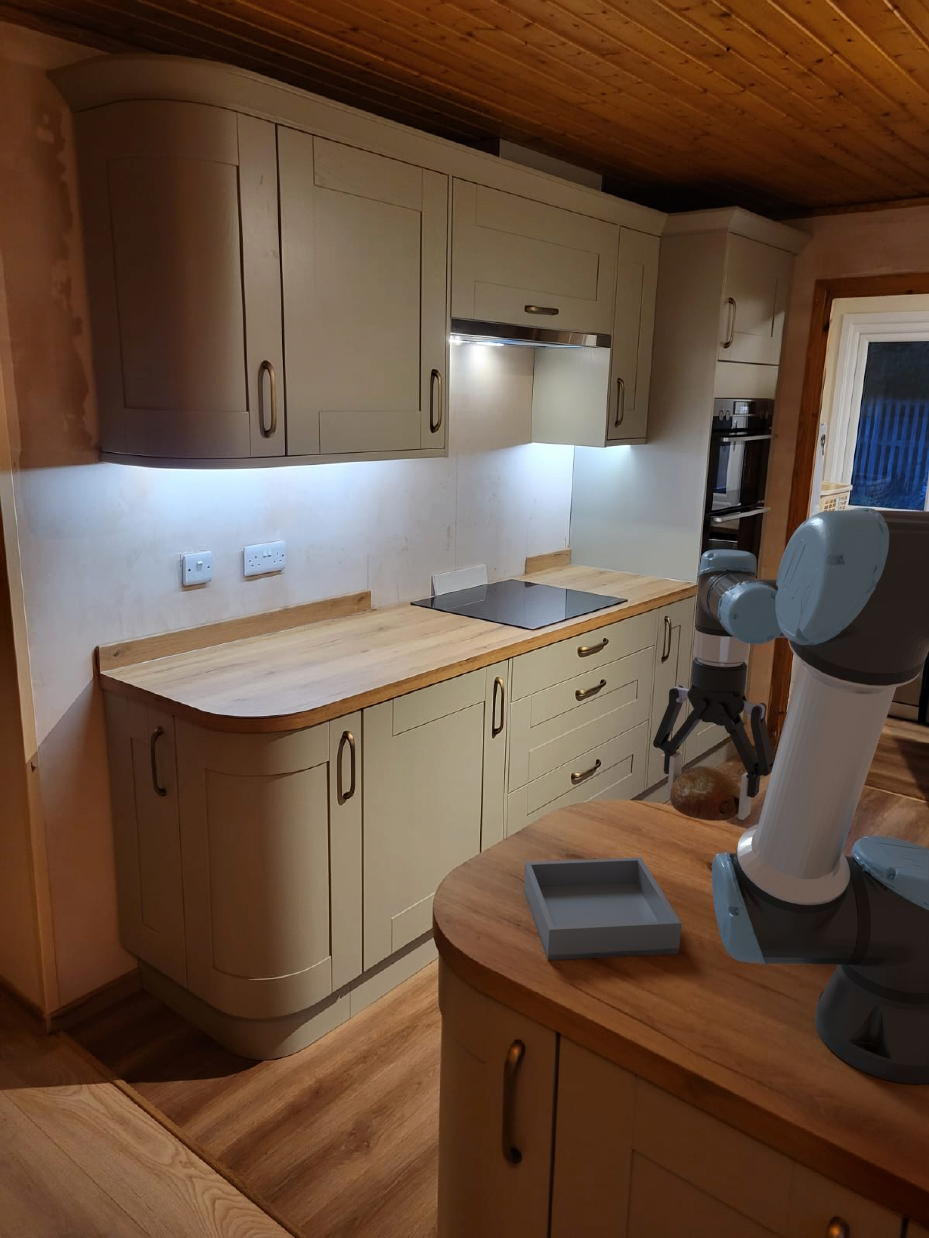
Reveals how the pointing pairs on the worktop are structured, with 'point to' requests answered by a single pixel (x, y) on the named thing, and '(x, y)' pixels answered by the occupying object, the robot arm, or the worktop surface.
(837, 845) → the robot arm
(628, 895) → the bread tray
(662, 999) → the worktop surface
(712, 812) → the bread roll
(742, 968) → the worktop surface
